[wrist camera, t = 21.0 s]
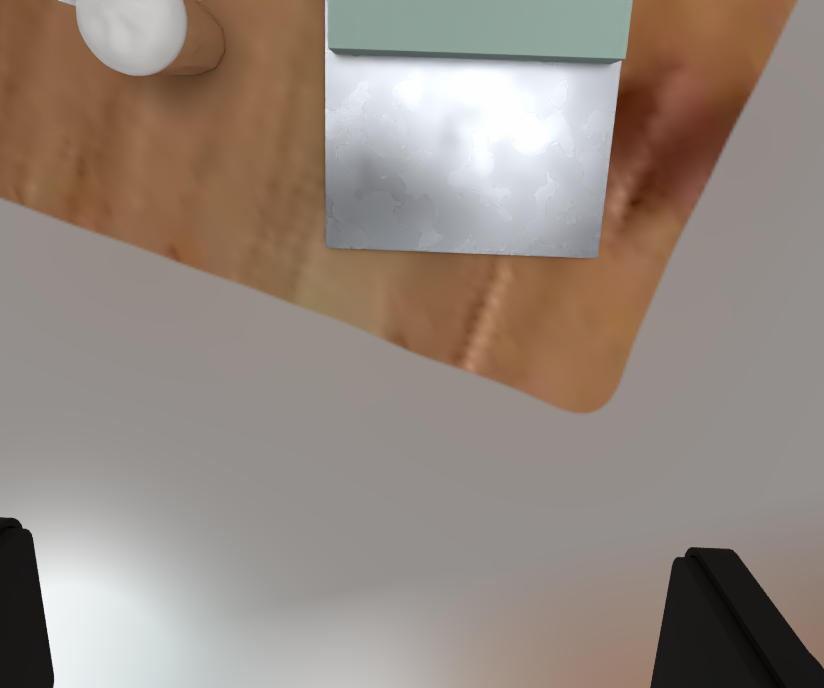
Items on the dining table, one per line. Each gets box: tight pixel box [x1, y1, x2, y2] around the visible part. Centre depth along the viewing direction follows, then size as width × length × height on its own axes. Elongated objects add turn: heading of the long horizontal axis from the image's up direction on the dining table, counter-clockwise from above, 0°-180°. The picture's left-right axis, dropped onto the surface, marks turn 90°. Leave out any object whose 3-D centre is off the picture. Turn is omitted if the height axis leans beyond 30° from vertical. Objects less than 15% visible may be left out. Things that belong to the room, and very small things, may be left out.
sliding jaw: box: [328, 0, 633, 64], centre depth 32 cm, size 14×5×2 cm, turn 88°
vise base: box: [325, 0, 621, 258], centre depth 33 cm, size 15×21×4 cm
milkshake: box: [57, 0, 225, 76], centre depth 31 cm, size 5×5×10 cm
